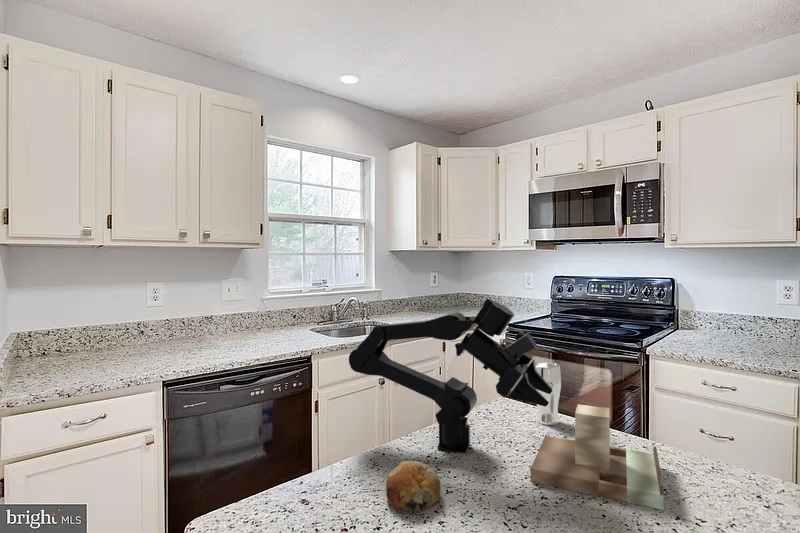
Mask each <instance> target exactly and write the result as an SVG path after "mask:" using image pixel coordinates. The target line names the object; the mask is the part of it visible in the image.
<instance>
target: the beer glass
mask: <svg viewBox="0 0 800 533" xmlns="http://www.w3.org/2000/svg"><path fill="white" fill-rule="evenodd" d="M535 368H536V371H537V372H538V373H539V375H540V376H541V377H542V378H543V379H544V380H545V382H546V383H547V384H548V385H549V386H550V387H551V389H552V390H553V391H552V392H551V394H548V393H545V392H542V391H540V390H537V389H536V390H537V391H538V392H539V393H540V394H541V395H542V396H543V397H544V398H545V399H546V400H547V401H548V402H549V403H548V405H547V406H546V407H545V406H541V405H537V404H536V412H535V417H534V418H535V419H534V420H535V422H537V423H538V424H541V425H544V426H545V425H546V426H556V425H559V423H560V416H559V409H558V408H559V401H560V394H561V388H562V375H561V374H562V373H561V365H560V364H558V363H555V362H549V361H548V362H545V361H544V362H542V361H541V362H540V361H539V362H535Z"/></svg>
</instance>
